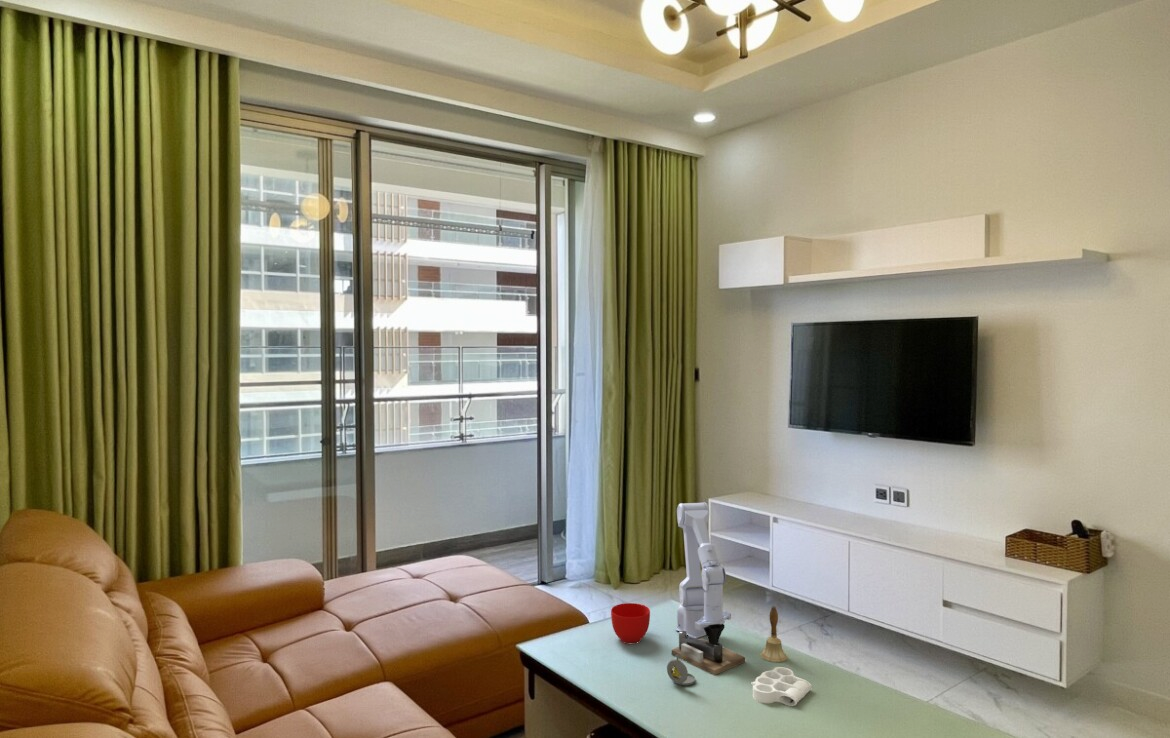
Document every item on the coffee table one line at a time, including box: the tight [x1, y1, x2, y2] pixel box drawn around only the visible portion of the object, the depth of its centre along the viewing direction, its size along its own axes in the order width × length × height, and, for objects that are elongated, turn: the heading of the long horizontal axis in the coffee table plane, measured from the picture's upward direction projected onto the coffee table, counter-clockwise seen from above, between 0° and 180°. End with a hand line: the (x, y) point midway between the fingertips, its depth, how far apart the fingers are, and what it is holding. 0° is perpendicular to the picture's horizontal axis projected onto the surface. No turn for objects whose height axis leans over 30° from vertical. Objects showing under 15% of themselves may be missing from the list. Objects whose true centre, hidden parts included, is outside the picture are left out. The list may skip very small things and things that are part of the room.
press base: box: [671, 637, 746, 676], centre depth 221 cm, size 18×14×4 cm
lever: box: [678, 631, 724, 662], centre depth 220 cm, size 16×3×5 cm, turn 48°
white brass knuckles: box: [750, 666, 813, 707], centre depth 200 cm, size 3×18×15 cm
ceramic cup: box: [610, 602, 651, 644], centre depth 237 cm, size 13×17×10 cm
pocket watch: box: [666, 652, 696, 686], centre depth 206 cm, size 8×8×10 cm
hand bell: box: [759, 605, 788, 663], centre depth 222 cm, size 8×8×16 cm
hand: (713, 646), depth 223 cm, fingers closed
